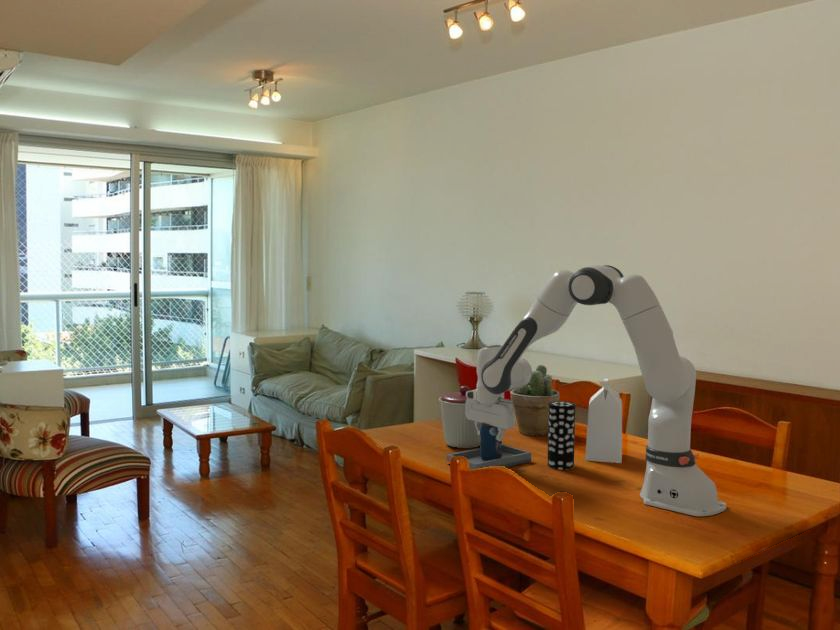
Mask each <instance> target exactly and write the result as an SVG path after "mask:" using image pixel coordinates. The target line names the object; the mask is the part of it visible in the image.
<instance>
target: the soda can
mask: <svg viewBox="0 0 840 630" xmlns="http://www.w3.org/2000/svg"><path fill="white" fill-rule="evenodd" d="M498 432H499V431H498V427H495V426H491V425H487V424H484V423H483V424H482V426H481V436H480V447H479V448H480V456H481V458H482V460H483V461H489V460H494V459H498V458H501V457H502V444H503V440H502V441H497V440H495V438H496V437H495V435H498Z"/></svg>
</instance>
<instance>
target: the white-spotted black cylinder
mask: <svg viewBox="0 0 840 630" xmlns="http://www.w3.org/2000/svg"><path fill="white" fill-rule="evenodd" d="M575 433H576V404H575V403H574V402H570V401H562V400H561V401H560V400H559V401H556V402H550V403H549V411H548V435H547V463H546V464H547V467H548V468H551V469H552V470H553V469H554V470H560V471H561V470H562V471H564V470H566V471H567V470H571V469H574V468H575V440H576V439H575V437H576V436H575V435H576V434H575Z"/></svg>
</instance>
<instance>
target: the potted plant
mask: <svg viewBox="0 0 840 630" xmlns="http://www.w3.org/2000/svg"><path fill="white" fill-rule="evenodd" d="M547 372H548V370H547V367H546V366H545V365H543V364H538V365H537V366H536V368H535V369H534V370H532V377H531V380H530V382H529V383H528V384H527V385H525V386H523V387H520V388H516V389H513V390H510V391H509V392H510V401H511V402H512V404H513V408H514V412H515V421H516V423H517V429H518V432H520V433H521V434H522V435H524V434H525V436H529V435H532V436H531V437H534V436H533V435H536V436H535V437H540V436H539V435H543V436H548V435H547V434H548V411H549V403H550V402H556V401H560V395H561V393H560V391H558V390H556V389H552V382H553V377H552V375H550V374H547Z"/></svg>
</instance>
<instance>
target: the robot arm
mask: <svg viewBox="0 0 840 630" xmlns="http://www.w3.org/2000/svg"><path fill="white" fill-rule="evenodd" d="M608 303H609V304H612V305H613V306H614V307H615V309H616V310H617V312H618V314H619V317H620V319H621V321H622V323H623V325H624V328H625V330H626V332H627V334H628V337H629V339H630V341H631V343H632V346H633V349H634V351H635V354H636V359H637V362H638V366H639V369H640V372H641V375H642V378H643V382H644V385H643V386H644V388H645V391H646V392H647V394H648V395H649V396H650V398H651V397H652V399H651V405H650V411H649V415H648V423H647V425H648V428H647V430H648V431H647V445H646V446H645V462H646V464H645V465H646V466H645V467H646V468H645V474H644V480H643V483H642V487H641V490H640V492H639V496H640V498H641V499H642V500H643V504H645V505H647V506H652V507H655V508H660V509H664V510H669V511H673V512H677V513H681V514H684V515H689V516H694V517H707V516H708V517H709V516H714V515H716V514H721V512H724V511H725V510H727V503H726V502H723V500H722V501H721V500H720V499H719V498H718V491H717V487H716V484H715V482H714V481H713V480H712V479H710V478H709V476H707V474H706V473H705V472H703V470H702V469H701V468H699V466H697V464H696V460H697V459H699V458H700V457H699V456H700V454H699V453H698V454H693V451H692V448H691V431H692V430H691V429H692V417H693V410H694V409H693V408H694V401H695V394H696V393H695V392H696V382H697V372H696V371H697V370H696V368H695V365H694V364H693V363H692V362H691V361H690V360H689V359H687V358H686V357H684V356H681V355H680V354H679V350H678V347H677V345H676V344H677V343H676V341H675V336H674V331H673V329H672V327H671V325H670V322H669V321H668V318H667V316H666V314H665V311H664V309H663V307H662V306H661V303H660V302H659V299H658V297H657V296H656V294H655V292H654V290H653V289H652V287H651V286H650V285H649V283H648V281H647V280H646V278H644V277H643V276H641V275H639V274H627V275H625V276H624V274H623V273H622V271H621V270H620V269H618V268H617V267H615V266H612V265H608V264H607V265H606V264H605V265H598V264H596V265H591V266H587V267H582V268H580V269H578V270H577V271H575V272H573V271H570V270H568V269H560V270H557V271H555V272H554V273H553V274H552V275H551V276H550V277H549V279H548V280H547V281H546V282H545V283H544V285H543V286H542V288H541V290H540V291H539V293H538V295H536V297H535V300H534V302H533V303H532V304H531V306H530V308H529V309H528V310H527V312H526V313H525V315H524V316H523V318H521V320H520V321H519V322H518V324H517V325H516V326H515V328H513V330H512V332H511V333H510V334H509V336H508V338H507V339H506V341H505V342H504V343H503V345H501V344H495V345H494V344H493V345H489V346H483V347H481V348H480V349H479V351H478V353H477V359H476V375H477V382H476V388H475V389H472V390H471V389H470V391H467V392H466V398H468V399H467V400H466V406H465V414H466V417H467V419H469V420H473V421H475V426H476V429H477V435H480V436H481V424H482V423H484V424H487V425H491V426H495V427H498V431H499V432H498V435H495V437H496V438H495V440H497V441H502V442H503V440H504V439H503V437H504V434H505V432H506V430H513V429H514V428H515V427H516V416H515V412H514V407H513V404H512V402H511V399H508V398H505V393H506V392H508V391H509V392H510V391H512V390H516V389H518V388H520V387H523V386H525V385H527V384H528V383H529V382H530V380H531V377H532V372H533V370H532V367H531V365H530V363H529V362H528V360H526V359H525V358H523V355H524V353H525V352H526V350H527V349H528V348H529V347H530V346H532V344H534V343H535V342H537V341H539V340H540V339H543V338H544V337H548V336H550V335H551V334H555V333H556V332H558V331H559V330H560V329H561V328H562V327H563V326H564V324H565V323H566V322H567V320H568V318H569V317H570V315H571V314H572V312H573V310H574V308H575V307H576V305H578V304H579V305H584V306H595V305H605V304H608ZM718 499H719V500H718Z"/></svg>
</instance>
